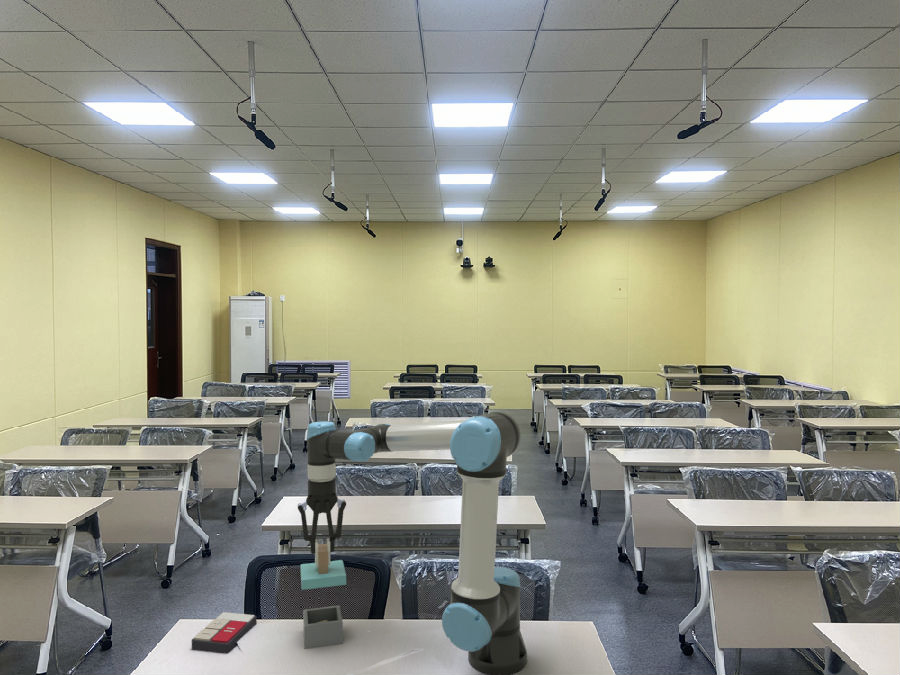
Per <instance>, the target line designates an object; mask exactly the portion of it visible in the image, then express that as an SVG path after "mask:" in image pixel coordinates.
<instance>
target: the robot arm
mask: <svg viewBox="0 0 900 675" xmlns="http://www.w3.org/2000/svg"><path fill="white" fill-rule="evenodd" d="M336 429H337V428H336V425H335V423H334V422H332V421H324V420H323V421H314V422H311V423H309V424H308V426H307V431H306V432H307V434H306V445H307V448H306V449H307V478H308V481H307V497H306V499H305V500H304V501H303V502H301V503H297V510H298V511H299V514H300V516H301V517H300V518H301V525H302V532H303V534H302V535H303V540H304V541H305V542H310V553H311V555H314V563H315V566H316V567H318V545H319V539H316V538H317V530H318V523H319V517H320V514H322V513H323V514H325V515H326V521H327V529H328V535H329V536H328V537H329V538H326V544H327V549H328V565H330V561H331V553H334V552H335V540H336V539H339V538H341V536H342V529H343V528H342V527H343V520H344V519H343V518H344V510H345V509H346V507H347V501H346V500H345V499H340V498H338V495H337V485H336V484H337V483H336V482H337V479H336V476H337V475H336V474H337V472H336V470H337V469H336V462H337V461H336V460H343V461H351V462H355V463H357V462H367V461H369V460H370V459H371V457H373V456H374V455H375V454H378V453H379V454H380V453H391V452H412V451H415V452H418V451H439V450H440V451H442V450H443V451H445V450H446V451H447V450H448V451H450V455H451V457H452V459H453V461H455V463H456V474H458V476H459V477H460V478H461V479H462V489H461V490H462V491H461V510H460V511H461V512H460V515H461V516H460V532H459V556H458V573H457V578H455V579H454V581H452V583H451V586H450V604H448V605H446V607H445V609H444V611H443V614H442V618H441V623H442V624H441V625H442V626H441V627H442V630H443V633H444V634H445V636H446V637H447V639H449V641H450V643H452V645H454V647H456V648H458V649H460V650H462V651H465V652H468V653H467V654H468V656H467V657H468V658H467V661H468V663H469V664H470V666H472V668H474V669H475V670H477V671H479V672H480V673H484V674H487V675H511V674H514V673H518V672H520V671H522V670H523V669H524V668H525V667H526V665H527V664H528V650H527V647H526V644H525V642H524V638H523V635H522V632H521V587H522V586H521V580H520V575H519V574H518V572H517V571H515V570H514V569H511V568H508V567H503V566H495V565H496V551H497V550H496V548H497V547H496V546H497V529H498V528H497V527H498V508H499V507H498V506H499V487H500V486H499V485H500V481H502V480H503V479H504V478H505V477H506V476H507V460H508V457H510V456H512V455H513V454H514V453H515V452H516V451H517V449H518V448H519V445H520V443H521V439H522V438H521V437H522V432H521V429H520V426H519V424H518V422H517V421H516V420H515V419H514V418H513V416H512V415H510V414H507V413H505V412H503V411H501V412H500V411H492V412H488V413H486V414H480V415H473V416H472V417H469V418H468V419H463V420H462V419H461V420H447V421H428V422H413V423H412V422H410V423H396V424H395V423H394V424H390V423H380V424H376V425H373V426H369V427H365V428H360V429H356V430H352V431H345V430H336ZM335 505H336V506H337V508H338V509H337V510H338V511H337V516H336V517H337V518H336V528H335V532H334V528H333V519H332V512H331V511H332V510H333V508H334V507H335ZM307 506H308V507H309V508H310V509H311V511H312V512H313V514H312V515H313V516H312V523H311V532H310V534H309V531H308V530H309V529H308V523H307V515H306V510H307Z"/></svg>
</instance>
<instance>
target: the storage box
mask: <svg viewBox="0 0 900 675" xmlns="http://www.w3.org/2000/svg"><path fill="white" fill-rule="evenodd" d="M302 612H303V613H302V615H303V616H302V618H303V621H302V622H303V626H302V627H303V628H302V629H303V644H304V646H303V647H304V650H307V649H314V648H315V649H316V648H321V647H322V648H323V647H329V646H330V647H331V646H338V645H343V644H344V639H343V638H344V637H343V636H344V634H343V633H344V632H343V629H344V628H343V626H344V625H343V624H344V623H343V622H344V620H343V617H342V612H341V606H340V605H331V606H323V607H316V608H307V609H302ZM324 620H327V621H328V622H320V621H324ZM317 622H320V623H317Z"/></svg>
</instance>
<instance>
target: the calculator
mask: <svg viewBox="0 0 900 675" xmlns="http://www.w3.org/2000/svg"><path fill="white" fill-rule="evenodd" d="M238 620H239V621H238ZM256 625H257V615H255V614H247V613H236V612H224V611H223V612H222V613H219V615H218V616H217V617H216V618H214V619H213V620H212V621H211V622H210V623H208V625H206V626H205V628H203V629H202V630H200V631H199V632H197V634H196V635H195V636H194V637H193V638H192V639H191V650H193V651H200V652H201V651H202V652H209V653H220V654H230V653H231V652H232V651H233V650H234V649H235V648H236V647H237V646H238V645H239V643H238V642H239V641H240V640H241V639H242V638H243V637H244V636H245V635H246V634H248V633H249V632H250V631H251V630H252V629H253V628H255V626H256Z"/></svg>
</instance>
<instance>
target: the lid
mask: <svg viewBox="0 0 900 675" xmlns="http://www.w3.org/2000/svg"><path fill="white" fill-rule="evenodd" d="M300 582H301V583H300V584H301V586H300V587H301V591H304V590H310V589H311V590H312V589H321V588H328V587H337V586H346V585H347V573H346V570H345V564H344V561H343V560H342V559H339V560H332V561H331V560H330V565H328V549H327V543H321V544H318V567H316V566H315V562H312V563H311V562H310V563H302V564H300Z"/></svg>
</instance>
